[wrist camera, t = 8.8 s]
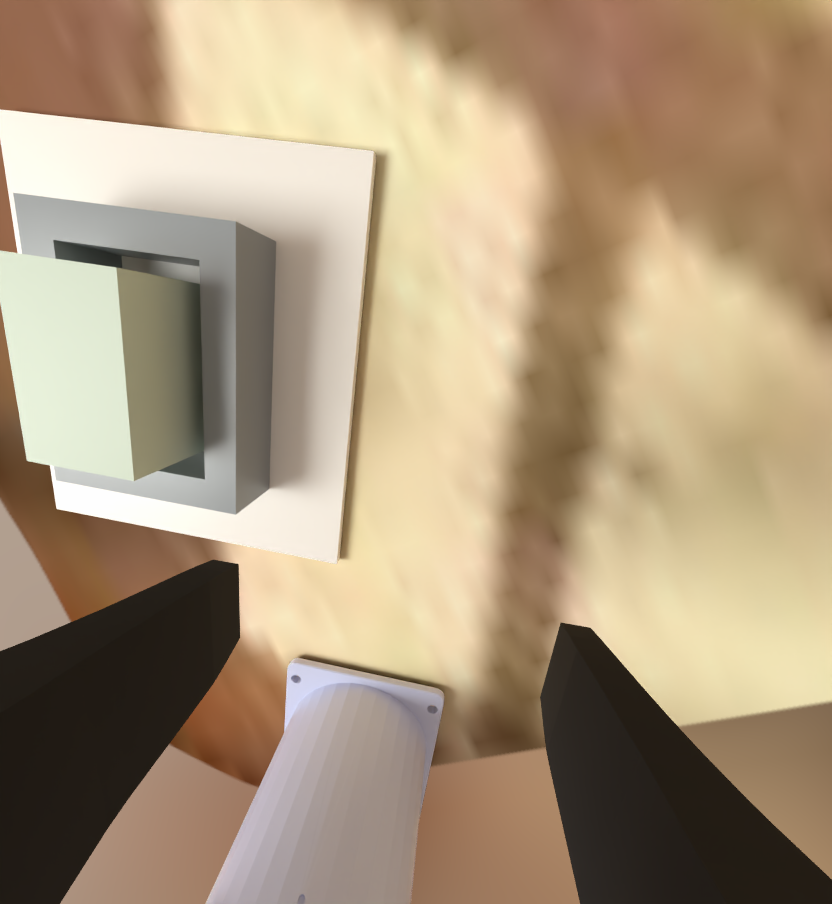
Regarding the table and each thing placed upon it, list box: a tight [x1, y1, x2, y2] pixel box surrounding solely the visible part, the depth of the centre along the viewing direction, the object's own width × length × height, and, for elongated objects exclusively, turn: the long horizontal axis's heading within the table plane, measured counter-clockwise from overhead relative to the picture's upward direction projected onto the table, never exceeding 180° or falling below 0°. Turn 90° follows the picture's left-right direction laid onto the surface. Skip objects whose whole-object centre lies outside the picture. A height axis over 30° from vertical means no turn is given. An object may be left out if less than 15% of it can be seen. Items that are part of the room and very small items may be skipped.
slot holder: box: [0, 110, 376, 564], centre depth 15 cm, size 16×14×3 cm
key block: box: [0, 251, 204, 481], centre depth 13 cm, size 4×6×5 cm, turn 172°
